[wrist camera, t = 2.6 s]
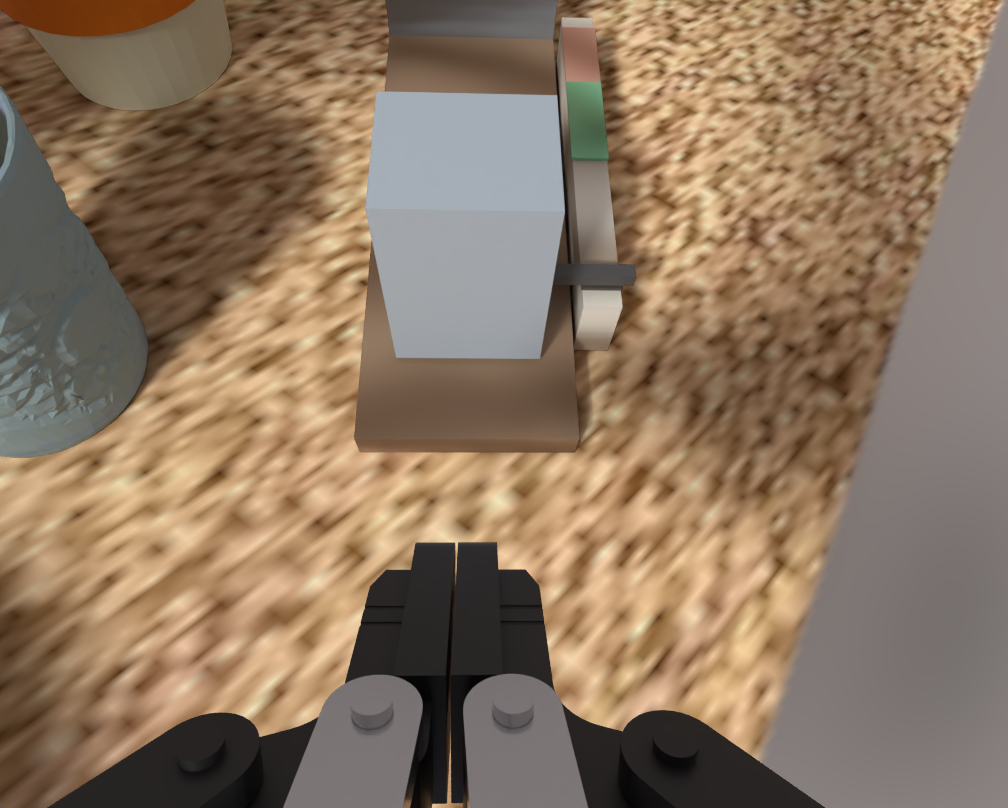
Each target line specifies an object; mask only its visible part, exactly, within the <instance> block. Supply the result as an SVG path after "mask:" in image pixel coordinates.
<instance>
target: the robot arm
mask: <svg viewBox="0 0 1008 808" xmlns="http://www.w3.org/2000/svg"><path fill="white" fill-rule="evenodd" d="M450 735H451V803H463V808H825V807H823V806H822V805H821V804H819V803H818V802H816V801H815V800H813V799H812V798H811V797H809V796H808V795H806V794H805V793H803V792H802V791H800V790H799V789H798V788H796V787H795V786H793V785H792V784H790V783H789V782H788V781H786V780H785V779H783V778H782V777H780V776H779V775H778V774H776V773H775V772H773V771H772V770H770V769H769V768H768V767H766V766H765V765H763V764H762V763H760V762H759V761H758V760H756V759H755V758H753V757H752V756H750V755H749V754H748V753H746V752H745V751H743V750H742V749H740V748H739V747H738V746H736V745H735V744H733V743H732V742H730V741H729V740H728V739H726V738H725V737H723V736H722V735H720V734H719V733H718V732H716V731H715V730H713V729H712V728H710V727H709V726H708V725H706V724H705V723H703V722H701V721H700V720H698V719H696V718H694V717H692V716H689V715H686V714H683V713H680V712H675V711H666V710H658V711H650V712H646V713H643V714H641V715H638V716H637V717H635V718H633V719H632V720H631V721H630V722H629V723H628V724H627V725H626V727H625V728H624V730H623V732H622V731H619V730H615V729H611V728H607V727H603V726H599V725H596V724H593V723H590V722H588V721H586V720H583V719H581V718H580V717H578V716H576V715H575V714H573V713H572V712H571V711H570V710H568V709H567V708H566V707H565V706H564V705H563V704H562V703H561V701H560V698H559V697H558V695H557V694H556V692H555V690H554V686H553V681H552V674H551V667H550V660H549V652H548V645H547V638H546V631H545V625H544V617H543V609H542V602H541V595H540V588H539V585H538V584H537V583H536V582H535V580H534V579H533V578H532V577H531V576H530V574H529V573H528V572H527V571H526V570H498V555H497V542H458V555H457V572H456V573H455V543H416V544H415V549H414V555H413V561H412V567H411V570H386V571H385V572H384V573H383V574H382V575H381V576H380V577H379V578H378V579H377V580H376V581H375V582H374V583H373V584H372V585H371V586H370V589H369V593H368V597H367V600H366V604H365V610H364V612H363V616H362V620H361V626H360V627H359V631H358V635H357V639H356V643H355V646H354V650H353V654H352V658H351V662H350V666H349V669H348V673H347V677H346V681H345V684H343V685H342V686H340V687H339V688H338V689H336V690H335V691H334V692H333V693H332V694H331V695H330V696H329V697H328V699H327V700H326V701H325V703H324V705H323V707H322V710H321V712H320V715H319V717H317V718H316V719H314V720H312V721H310V722H308V723H306V724H304V725H301V726H299V727H296V728H292V729H289V730H285V731H282V732H278V733H274V734H270V735H266V736H262V737H259V734H258V730H257V729H256V727H255V725H254V724H253V723H252V722H251V721H250V720H248V719H246V718H245V717H243V716H240V715H237V714H232V713H210V714H205V715H201V716H197V717H194V718H191V719H189V720H187V721H184V722H182V723H180V724H178V725H177V726H175V727H173V728H172V729H170V730H168V731H167V732H165V733H164V734H162V735H161V736H159V737H157V738H156V739H154V740H153V741H151V742H150V743H148V744H146V745H145V746H143V747H142V748H140V749H139V750H137V751H136V752H134V753H132V754H131V755H129V756H128V757H126V758H125V759H123V760H121V761H120V762H118V763H117V764H115V765H114V766H112V767H110V768H109V769H107V770H106V771H104V772H103V773H101V774H100V775H98V776H96V777H95V778H93V779H92V780H90V781H89V782H87V783H85V784H84V785H82V786H81V787H79V788H78V789H76V790H74V791H73V792H71V793H70V794H68V795H67V796H65V797H64V798H62V799H60V800H59V801H57V802H56V803H54V804H53V805H51V806H49V807H48V808H432V804H445V803H447V793H448V773H449V754H450Z"/></svg>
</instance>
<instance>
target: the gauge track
mask: <svg viewBox="0 0 1008 808" xmlns="http://www.w3.org/2000/svg"><path fill="white" fill-rule="evenodd" d="M557 1H558V0H386V8H387V16H388V25H389V33H390V38H389V50H388V61H387V72H386V84H385V92H430V93H475V94H520V95H557V100H558V115H559V130H560V146H561V161H562V176H563V191H564V206H565V214H564V220H563V226H562V232H561V237H560V243H559V249H558V255H557V261H556V264H618V259H617V250H616V240H615V230H614V221H613V211H612V202H611V192H610V183H609V173H608V164H607V161H608V160H609V155H608V145H607V136H606V126H605V117H604V108H603V98H602V89H601V80H600V70H599V61H598V51H597V42H596V33H595V28H593V21H592V18H567V17H562V19H561V28H560V36H559V44H558V53H557V61H556V70H555V59H554V44H553V37H554V28H555V19H556V10H557ZM622 289H623V286H617V285H552V290H551V296H550V302H549V308H548V314H547V320H546V326H545V332H544V338H543V343H542V349H541V355H540V359H491V358H396V354H395V350H394V345H393V340H392V335H391V330H390V325H389V320H388V316H387V311H386V306H385V301H384V296H383V291H382V287H381V282H380V277H379V272H378V267H377V262H376V258H375V253H374V248H373V243H372V242H371V253H370V265H369V276H368V287H367V299H366V310H365V321H364V333H363V344H362V355H361V367H360V378H359V389H358V401H357V412H356V423H355V435H354V439H355V441H356V444H357V446H358V449H359V451H360V452H575V450H576V447H577V444H578V442H579V439H580V438H579V423H578V408H577V393H576V377H575V362H574V350H608V348H609V345H610V342H611V339H612V336H613V333H614V330H615V328H616V325H617V322H618V319H619V316H620V313H621V310H622V297H621V291H622Z"/></svg>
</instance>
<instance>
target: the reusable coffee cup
mask: <svg viewBox="0 0 1008 808" xmlns="http://www.w3.org/2000/svg"><path fill="white" fill-rule="evenodd" d="M0 9H1V10H2V11H4V12H5V13H6V14H7V15H8V16H10V17H11V18H12V19H13V20H15V21H17V22H19V23H21V24H23V25H25V26H26V27H27V29H28V30H29V31H30V32H31V34H32V35H33V36H34V37H35V39H36V40H37V41H38V42H39V44H40V45H41V46H42V47H43V49H44V50H45V51H46V52H47V54H48V55H49V56H50V57H51V59H52V60H53V61H54V62H55V64H56V65H57V66H58V67H59V69H60V70H61V71H62V72H63V74H64V75H65V76H66V77H67V79H68V80H69V81H70V82H71V84H72V85H73V86H74V87H75V89H76V90H77V91H79V92H80V93H81V94H82V95H83V96H84V97H86V98H87V99H89V100H91V101H93V102H95V103H97V104H99V105H103V106H106V107H110V108H113V109H121V110H128V111H135V110H152V109H159V108H164V107H168V106H171V105H175V104H178V103H181V102H183V101H186V100H188V99H190V98H192V97H195V96H196V95H198V94H199V93H201V92H203V91H204V90H206V89H207V88H209V87H210V86H211V85H212V84H213V83H214V82H215V81H217V80H218V79H219V77H220V76H221V75H222V73H223V72H224V71H225V70H226V68H227V66H228V63H229V61H230V59H231V54H232V42H231V36H230V31H229V26H228V21H227V16H226V11H225V6H224V2H223V0H0Z"/></svg>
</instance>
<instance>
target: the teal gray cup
mask: <svg viewBox="0 0 1008 808" xmlns="http://www.w3.org/2000/svg"><path fill="white" fill-rule="evenodd" d="M147 360H148V341H147V337H146V333H145V329H144V326H143V324H142V322H141V319H140V317H139V316H138V314H137V312H136V310H135V309H134V307H133V305H132V304H131V302H130V300H129V299H128V297H127V295H126V294H125V292H124V290H123V289H122V287H121V285H120V284H119V282H118V281H117V279H116V278H115V277H114V275H113V274H112V273H111V271H110V269H109V266H108V263H107V261H106V259H105V257H104V256H103V254H102V253H101V251H100V250H99V248H98V247H97V246H96V245H95V242H94V239H93V238H92V236H91V234H90V232H89V231H88V229H87V227H86V226H85V225H84V224H83V223H82V221H81V220H80V219H79V217H77V216H76V215H74V214H73V213H72V211H71V210H70V208H69V207H68V205H67V203H66V198H65V194H64V192H63V190H62V189H61V188H60V187H59V186H58V184H57V183H56V182H55V180H54V177H53V173H52V170H51V168H50V166H49V164H48V163H47V161H46V159H45V158H44V156H43V154H42V153H41V151H40V149H39V147H38V146H37V144H36V142H35V140H34V139H33V137H32V135H31V133H30V131H29V130H28V128H27V126H26V124H25V122H24V121H23V119H22V117H21V115H20V113H19V112H18V110H17V108H16V106H15V105H14V103H13V101H12V100H11V99H10V97H9V96H8V94H7V93H6V92H5V90H4V89H3V88H2V87H1V86H0V456H4V457H14V458H30V457H36V456H43V455H49V454H53V453H56V452H60V451H63V450H65V449H68V448H70V447H73V446H75V445H77V444H79V443H81V442H83V441H85V440H87V439H89V438H91V437H92V436H94V435H95V434H97V433H98V432H99V431H101V430H102V429H104V428H105V427H106V426H107V425H109V424H110V423H111V422H112V421H113V420H114V419H115V418H117V417H118V416H119V415H120V414H121V412H122V411H123V410H124V409H125V408H126V406H127V405H128V404H129V403H130V401H131V400H132V398H133V397H134V396H135V394H136V392H137V390H138V388H139V386H140V384H141V382H142V380H143V377H144V374H145V371H146V367H147Z"/></svg>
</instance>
